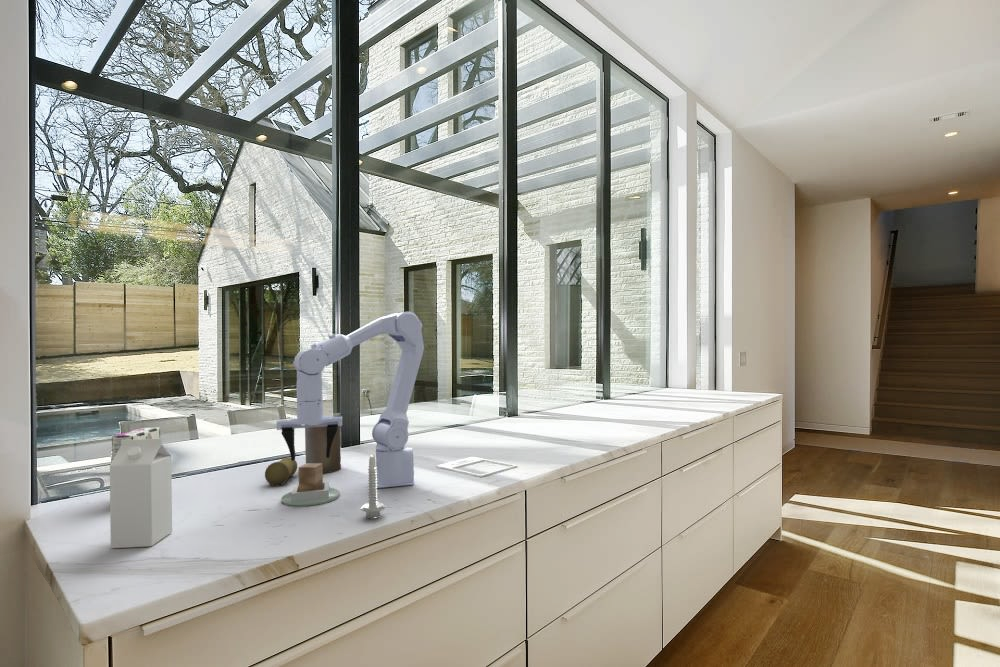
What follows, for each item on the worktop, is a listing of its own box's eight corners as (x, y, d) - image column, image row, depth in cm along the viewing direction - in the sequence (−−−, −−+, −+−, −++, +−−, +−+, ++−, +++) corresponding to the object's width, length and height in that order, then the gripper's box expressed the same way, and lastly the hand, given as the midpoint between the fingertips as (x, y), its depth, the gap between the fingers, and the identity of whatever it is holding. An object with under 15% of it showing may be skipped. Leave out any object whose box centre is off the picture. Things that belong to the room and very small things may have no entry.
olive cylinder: (282, 457, 137) (294, 450, 148) (260, 469, 136) (273, 461, 147) (293, 478, 137) (304, 469, 148) (271, 490, 136) (284, 480, 147)
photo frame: (472, 456, 164) (517, 464, 152) (472, 459, 164) (517, 468, 152) (436, 464, 153) (481, 474, 141) (436, 468, 153) (481, 479, 141)
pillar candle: (348, 468, 154) (347, 416, 155) (320, 475, 146) (319, 420, 146) (325, 464, 160) (324, 414, 160) (297, 471, 151) (296, 418, 152)
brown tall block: (322, 492, 127) (322, 463, 127) (315, 497, 123) (315, 467, 123) (306, 492, 128) (306, 463, 128) (299, 497, 124) (298, 467, 124)
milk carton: (133, 534, 103) (132, 436, 103) (172, 533, 104) (171, 435, 104) (110, 549, 96) (109, 443, 96) (151, 547, 97) (150, 442, 97)
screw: (376, 511, 115) (389, 516, 111) (356, 517, 111) (369, 522, 108) (375, 450, 115) (388, 453, 111) (355, 454, 111) (368, 457, 108)
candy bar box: (141, 494, 131) (140, 427, 131) (162, 493, 131) (161, 426, 132) (111, 508, 120) (110, 435, 120) (134, 507, 120) (133, 434, 120)
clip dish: (339, 487, 134) (339, 478, 134) (340, 502, 121) (340, 492, 121) (284, 492, 130) (284, 483, 130) (278, 509, 117) (278, 498, 117)
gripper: (341, 397, 132) (342, 452, 132) (278, 400, 127) (279, 457, 127) (342, 400, 125) (343, 458, 125) (275, 403, 121) (276, 463, 121)
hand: (310, 458), depth 126 cm, fingers open, 7 cm apart
